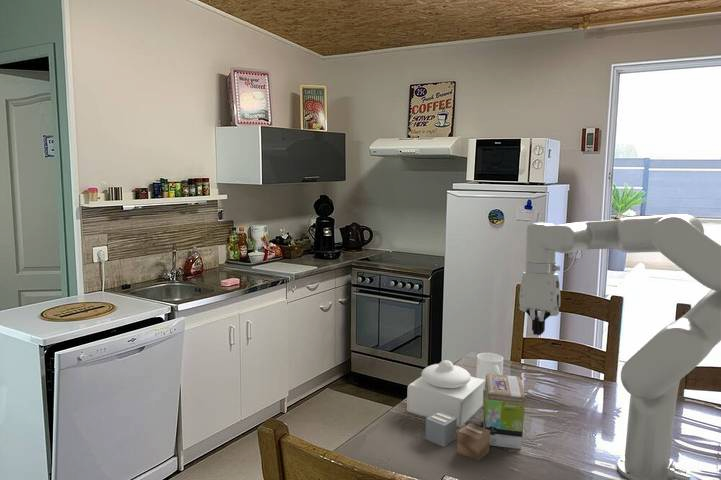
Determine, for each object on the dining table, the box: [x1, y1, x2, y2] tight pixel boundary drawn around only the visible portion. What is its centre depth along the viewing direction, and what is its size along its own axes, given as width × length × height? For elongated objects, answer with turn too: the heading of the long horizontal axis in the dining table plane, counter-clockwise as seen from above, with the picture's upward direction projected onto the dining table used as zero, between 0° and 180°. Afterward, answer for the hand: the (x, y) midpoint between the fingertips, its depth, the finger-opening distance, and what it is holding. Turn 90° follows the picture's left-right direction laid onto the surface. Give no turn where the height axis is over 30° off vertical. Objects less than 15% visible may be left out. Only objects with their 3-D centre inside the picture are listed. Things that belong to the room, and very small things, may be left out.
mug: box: [475, 352, 504, 392], centre depth 177 cm, size 9×12×11 cm
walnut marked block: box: [456, 422, 491, 462], centre depth 137 cm, size 6×6×6 cm
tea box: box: [482, 374, 526, 450], centre depth 146 cm, size 15×10×15 cm, turn 168°
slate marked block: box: [425, 411, 457, 448], centre depth 143 cm, size 6×6×6 cm
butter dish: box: [406, 359, 485, 428], centre depth 161 cm, size 18×18×16 cm
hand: (538, 333), depth 145 cm, fingers closed
